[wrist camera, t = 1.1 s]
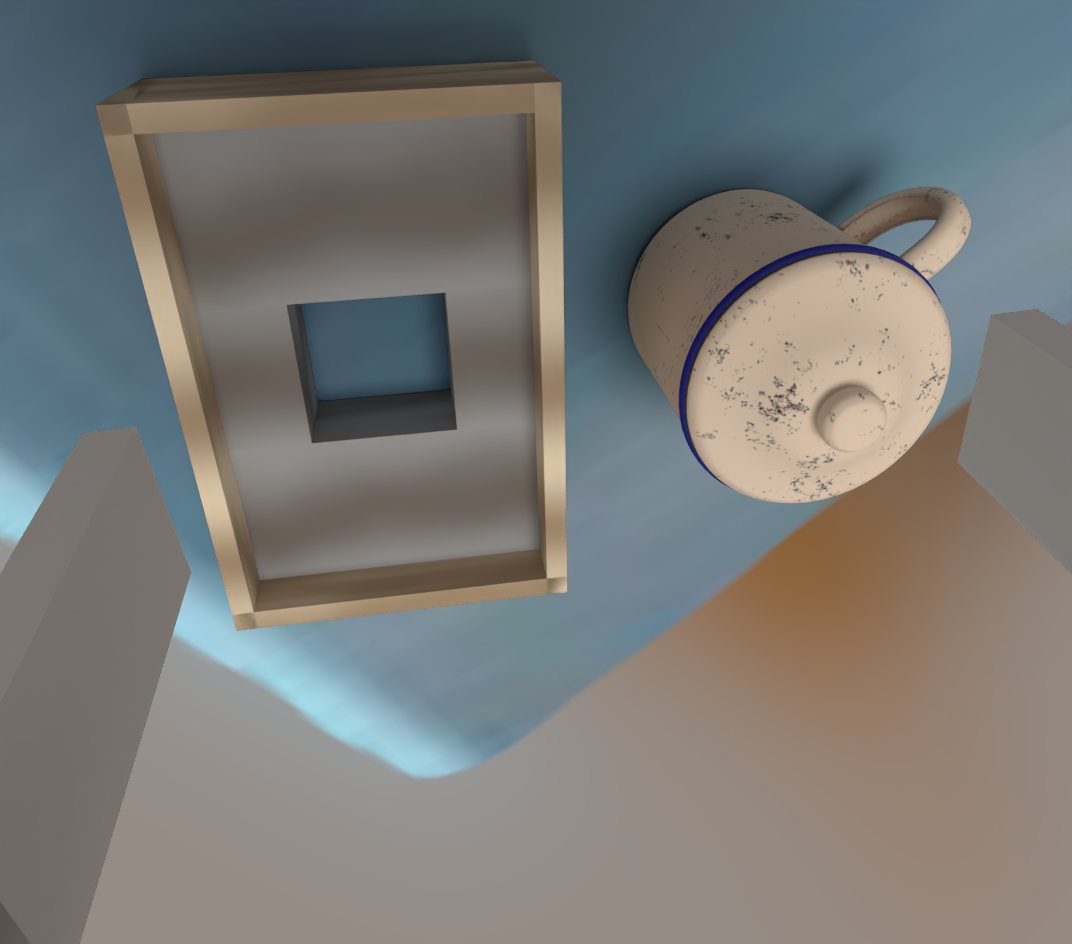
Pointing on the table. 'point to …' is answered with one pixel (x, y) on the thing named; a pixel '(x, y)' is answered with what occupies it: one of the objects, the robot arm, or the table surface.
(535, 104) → the box with hole
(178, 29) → the table surface
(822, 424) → the teacup with lid
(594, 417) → the table surface
